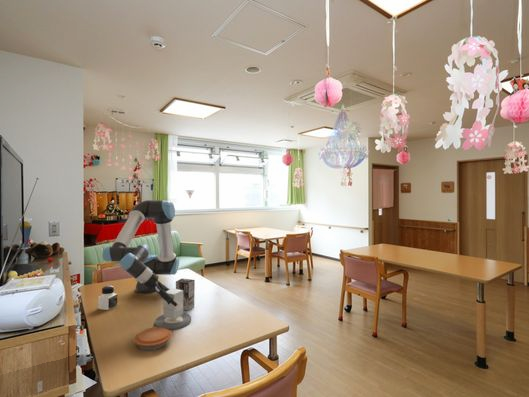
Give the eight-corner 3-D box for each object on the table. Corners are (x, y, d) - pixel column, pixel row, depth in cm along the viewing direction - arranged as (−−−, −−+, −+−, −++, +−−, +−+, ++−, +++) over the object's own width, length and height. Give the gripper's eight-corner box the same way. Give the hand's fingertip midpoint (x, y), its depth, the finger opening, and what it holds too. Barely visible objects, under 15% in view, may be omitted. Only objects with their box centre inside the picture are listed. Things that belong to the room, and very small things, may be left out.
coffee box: (194, 306, 168) (195, 279, 168) (188, 311, 162) (188, 282, 162) (181, 304, 171) (182, 278, 171) (175, 308, 165) (175, 281, 165)
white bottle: (108, 310, 161) (108, 289, 161) (97, 309, 163) (97, 288, 162) (117, 305, 168) (117, 285, 168) (107, 304, 170) (107, 284, 169)
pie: (128, 354, 118) (128, 342, 118) (142, 335, 134) (142, 325, 134) (165, 353, 119) (166, 341, 119) (175, 335, 135) (175, 324, 135)
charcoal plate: (167, 312, 159) (167, 310, 159) (197, 316, 156) (197, 314, 155) (147, 327, 142) (147, 324, 142) (180, 331, 138) (180, 329, 138)
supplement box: (183, 314, 150) (184, 290, 150) (173, 319, 144) (174, 294, 143) (172, 311, 153) (173, 287, 153) (162, 316, 147) (162, 292, 147)
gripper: (141, 277, 152) (171, 303, 159) (141, 290, 132) (176, 319, 138) (152, 266, 155) (181, 292, 161) (154, 278, 134) (188, 307, 140)
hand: (179, 304), depth 150 cm, fingers closed on supplement box, 10 cm apart
